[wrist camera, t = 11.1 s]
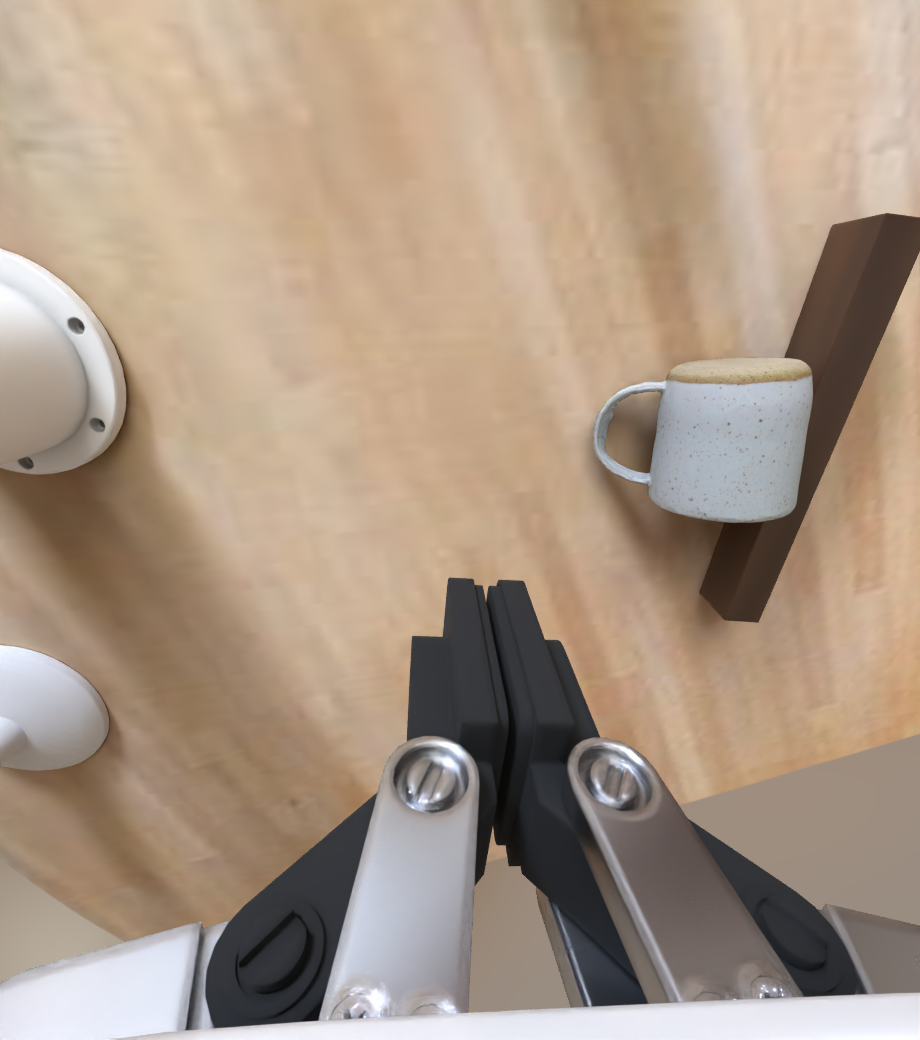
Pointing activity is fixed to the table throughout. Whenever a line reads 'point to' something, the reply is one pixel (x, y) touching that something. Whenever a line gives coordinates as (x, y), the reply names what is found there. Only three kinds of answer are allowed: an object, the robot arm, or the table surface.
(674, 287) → the table surface
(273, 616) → the table surface
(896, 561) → the table surface
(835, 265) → the board
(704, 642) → the table surface
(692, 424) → the ceramic mug
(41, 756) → the candlestick
